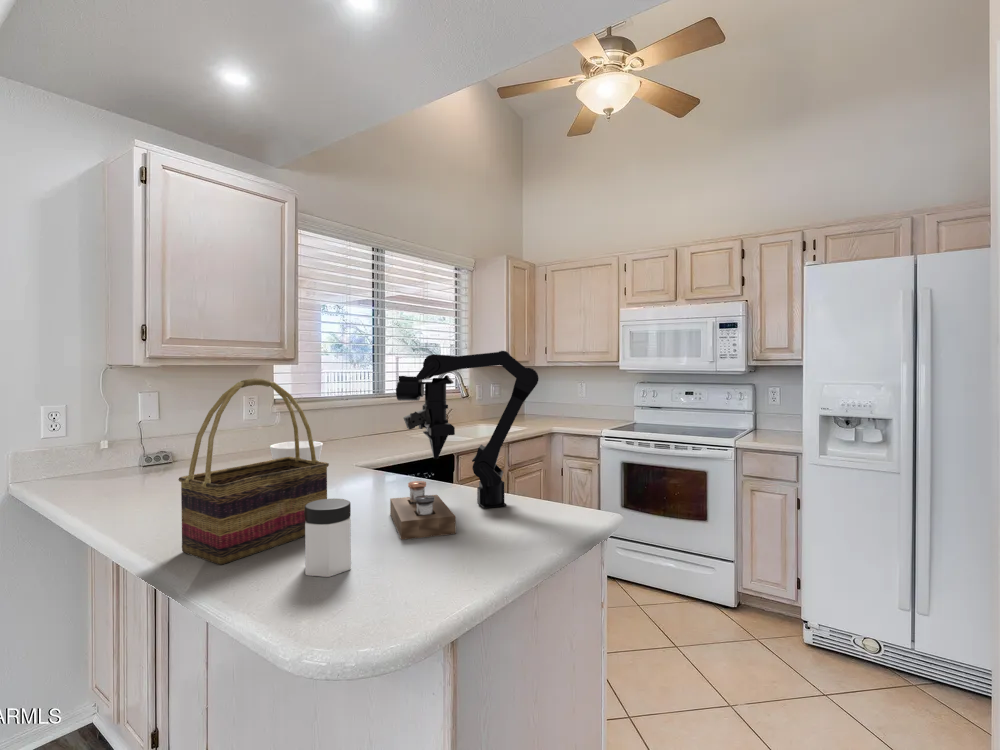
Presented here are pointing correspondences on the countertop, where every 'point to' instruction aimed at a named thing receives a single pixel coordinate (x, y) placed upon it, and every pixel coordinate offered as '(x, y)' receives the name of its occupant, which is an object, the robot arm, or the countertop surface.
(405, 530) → the socket block
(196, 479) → the basket
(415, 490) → the copper capped plug
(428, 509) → the grey plug
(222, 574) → the countertop surface
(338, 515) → the jar
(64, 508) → the countertop surface
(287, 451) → the cup
